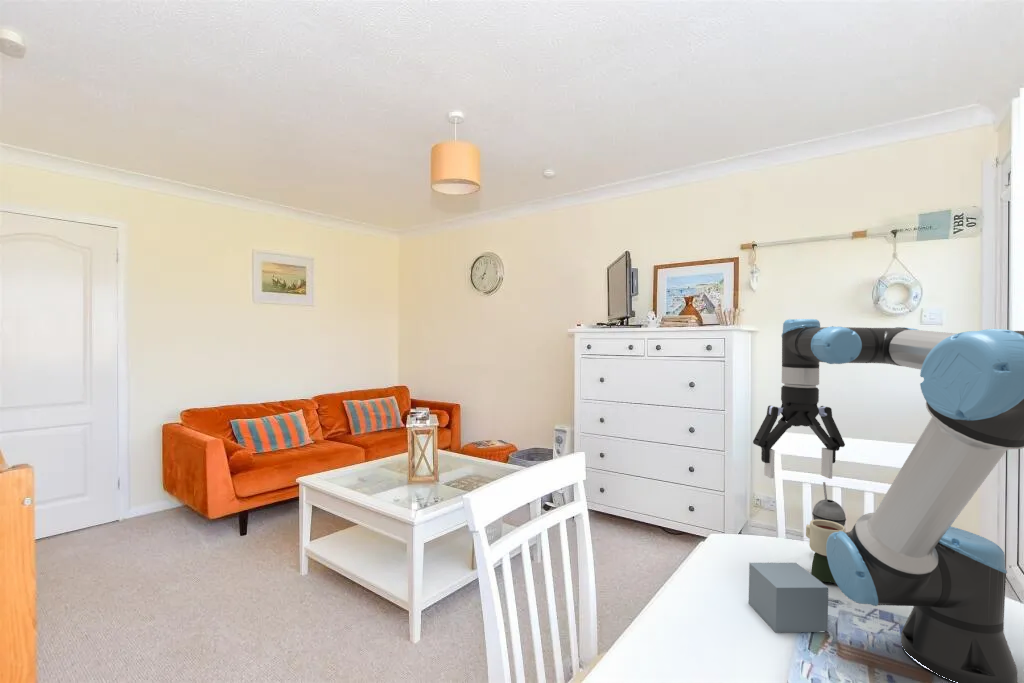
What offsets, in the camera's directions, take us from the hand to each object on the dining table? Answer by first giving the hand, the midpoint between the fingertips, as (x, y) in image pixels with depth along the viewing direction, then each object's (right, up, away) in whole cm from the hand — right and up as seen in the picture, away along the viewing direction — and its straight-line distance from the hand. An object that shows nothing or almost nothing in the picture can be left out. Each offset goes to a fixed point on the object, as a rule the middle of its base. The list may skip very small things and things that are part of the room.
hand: (797, 476), depth 113 cm
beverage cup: (+14, -25, +11) cm, 31 cm away
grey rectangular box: (-11, -25, -14) cm, 30 cm away
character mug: (+8, -25, +2) cm, 26 cm away
